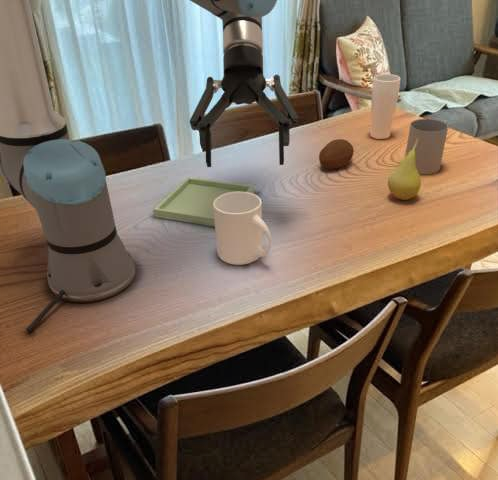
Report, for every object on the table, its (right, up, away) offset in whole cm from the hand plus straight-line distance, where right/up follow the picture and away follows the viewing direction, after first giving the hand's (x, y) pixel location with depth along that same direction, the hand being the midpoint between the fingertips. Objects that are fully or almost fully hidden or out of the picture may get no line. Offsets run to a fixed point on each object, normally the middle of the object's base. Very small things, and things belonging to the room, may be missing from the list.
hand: (245, 163), depth 100 cm
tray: (-9, -4, +18) cm, 20 cm away
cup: (+42, +8, +30) cm, 52 cm away
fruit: (+34, -2, +18) cm, 39 cm away
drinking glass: (+36, +20, +45) cm, 62 cm away
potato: (+22, +9, +32) cm, 39 cm away
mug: (0, -17, +1) cm, 17 cm away
